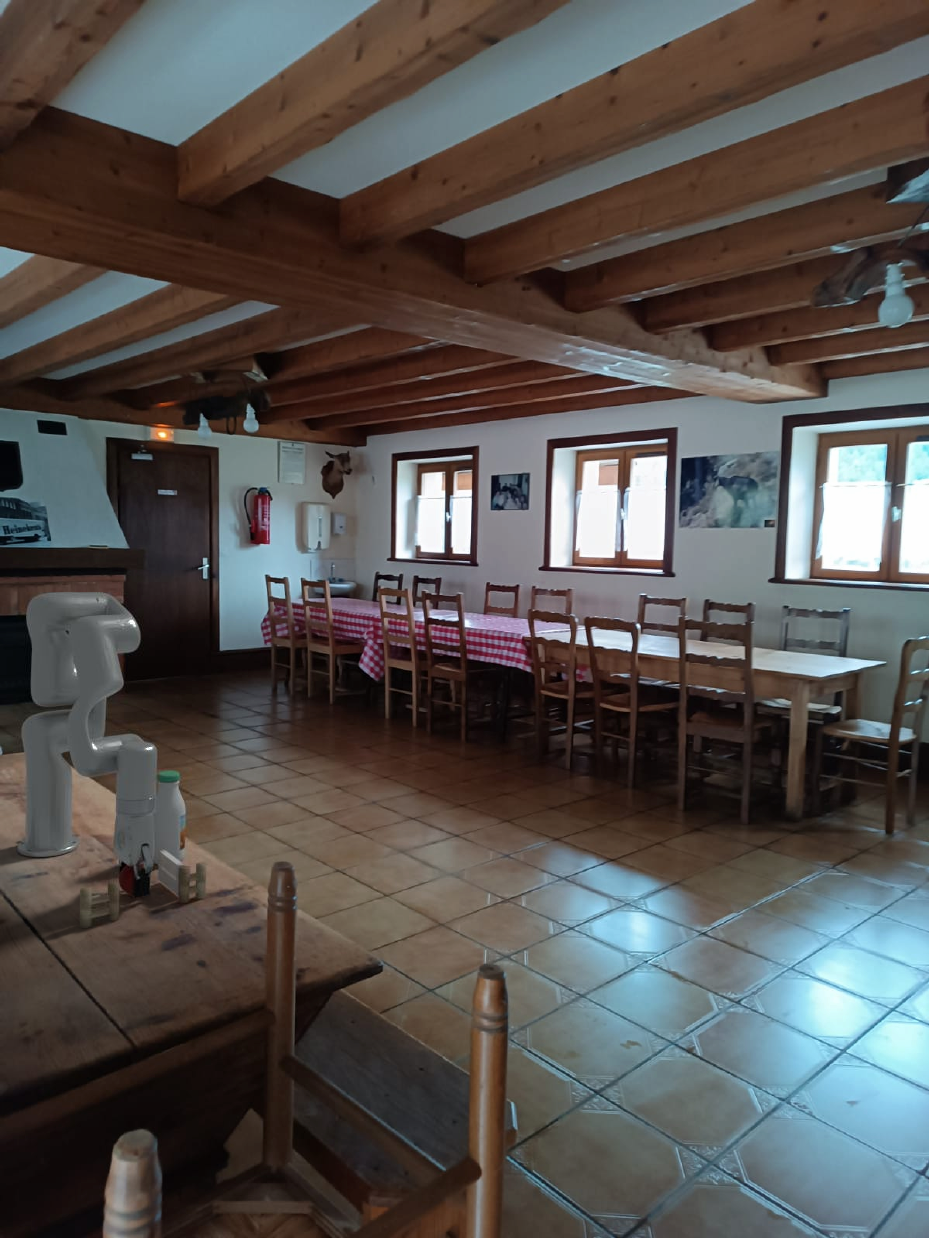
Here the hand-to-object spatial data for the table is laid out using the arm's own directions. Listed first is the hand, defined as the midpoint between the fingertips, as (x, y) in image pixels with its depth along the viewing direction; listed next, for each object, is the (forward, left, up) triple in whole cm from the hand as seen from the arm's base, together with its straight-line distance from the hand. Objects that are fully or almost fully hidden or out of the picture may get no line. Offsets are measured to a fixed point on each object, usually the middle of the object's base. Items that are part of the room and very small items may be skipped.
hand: (134, 889), depth 173 cm
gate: (+1, +7, -1) cm, 7 cm away
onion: (0, 0, -2) cm, 2 cm away
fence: (+8, -1, -1) cm, 8 cm away
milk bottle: (-15, +13, -2) cm, 20 cm away
